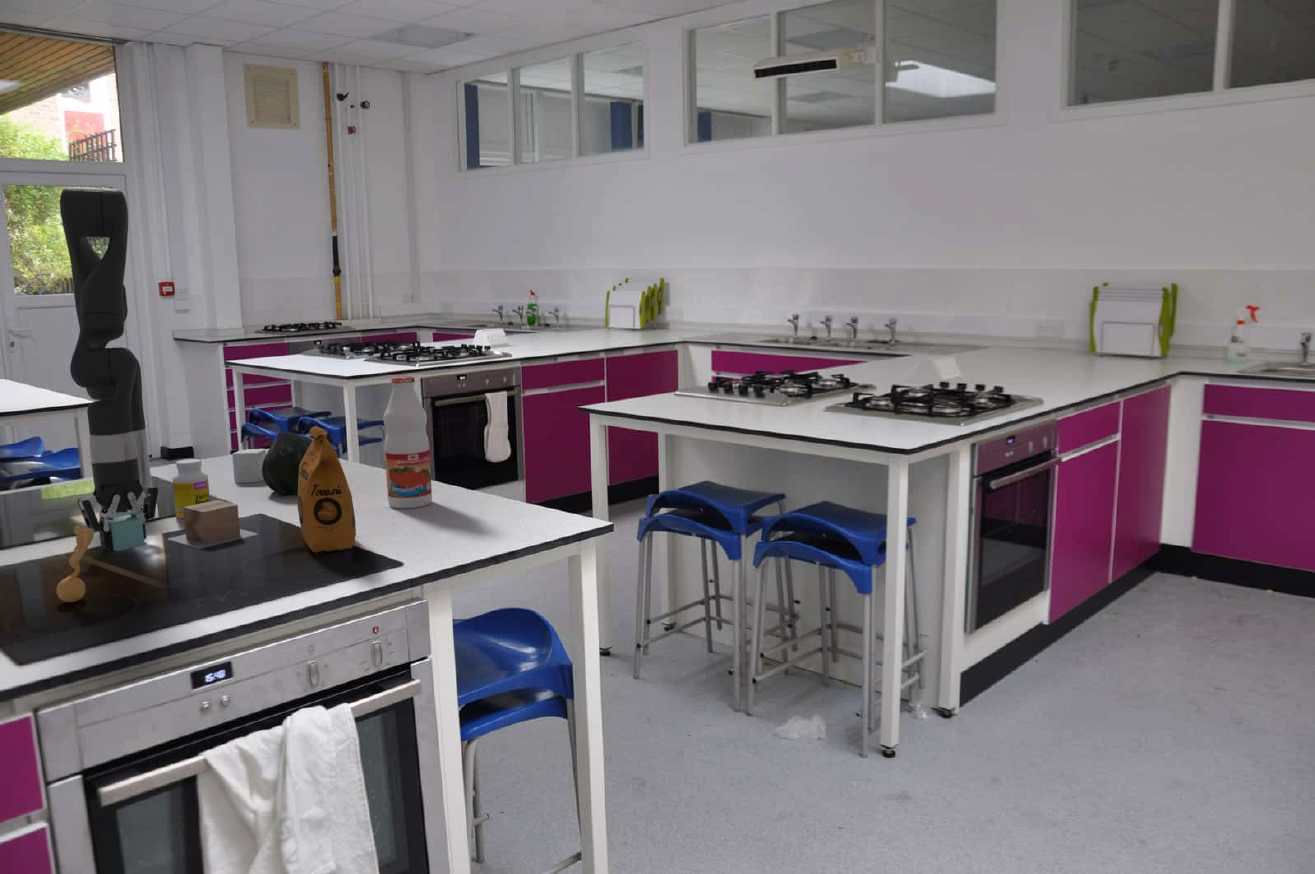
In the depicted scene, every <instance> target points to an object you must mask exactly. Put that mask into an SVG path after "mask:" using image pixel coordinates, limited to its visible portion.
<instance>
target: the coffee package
mask: <svg viewBox="0 0 1315 874" xmlns="http://www.w3.org/2000/svg"><path fill="white" fill-rule="evenodd" d="M309 436H310V437H313V439H312V440H313V441H312V443H311V445H310V446H309V448H308V450H307V451H306V453H305V455H304V457H303V459H302V461H301V463H300V465H299V476H298V494H297V512H298V519H299V526H300V531H301V535H302V538H303V539H304V542H305V543H306V545H307V546H308V548H309V549H310V550H311V551H312V552H313V553H314V552H316V551H322V550H339V549H344V548H348V547H352V546H354V547H355V541H356V536H357V532H356V531H357V529H356V518H355V517H356V516H355V509H354V503H353V502H354V501H353V496H352V495H353V494H352V493H351V492H352V491H351V490H350V486H349V484H348V481H347V480H348V479H347V478H346V475H345V472H344V469H343V467H342V465H341V462H340V458H339V457H338V456H339V455H338V453H337V451H336V450H335V447H333V445H332V444H331V442H330V441H329V440H328V439H327V437H328V431H327V430H326V429H323V428H321V427H319V426H317V425H315V426H312V427H311V428H310V429H309Z"/></svg>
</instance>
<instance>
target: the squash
mask: <svg viewBox="0 0 1315 874" xmlns="http://www.w3.org/2000/svg"><path fill="white" fill-rule="evenodd" d="M312 441H313V439H311V438H309V437H307V436H303V435H300V434H297V433H294V432H290V431H279V433H278V434H277V435H276V436H275V438H274V440H273V442H272V443H271V445H270V447H269V449H268V451H267V452H266V456H265V458H264V461H263V464H262V476H263V479H264V480H263V481H264V483H265V485H266V486H267V487H268V488H269V489H271V491H273V492H276V493H280V494H283V495H287V496H288V495H293V494H297V495H298V476H299V465H300V463H301V461H302V459H303V457H304V455H305V453H306V451H307V450H308V448H309V446H310V445H311V443H312Z"/></svg>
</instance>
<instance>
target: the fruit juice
mask: <svg viewBox="0 0 1315 874" xmlns="http://www.w3.org/2000/svg"><path fill="white" fill-rule="evenodd" d="M415 382H416V381H415V376H413V375H401V376H400V375H398V376H393V377H391V378H390V383H391V386H392V390H391V391H392V392H391V394H390V397H389V401H388V404H387V407H386V409H385V411H384V414H383V425H384V427H385V430H386V434H385V438H384V460H385V470H386V471H385V474H386V488H387V489H386V491H387V501H388V502H387V503H388V505H389V507H391V508H392V509H393V508H394V509H415V508H416V509H417V508H421V507H427V506H428V505H430V504H431V503H432V501H433V492H432V474H431V473H432V471H431V458H430V457H431V456H430V455H431V454H430V442H429V436H428V433H427V432H426V425H427V422H428V421H427V420H428V418H427V417H428V416H427V412H426V410H425V408H424V407H423V406H422V403H421V402H420V399H419V397H418V395H417V392H416V389H415V386H414V385H415Z"/></svg>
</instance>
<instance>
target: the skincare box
mask: <svg viewBox="0 0 1315 874" xmlns="http://www.w3.org/2000/svg"><path fill="white" fill-rule="evenodd" d="M266 451H267V450H266V448H251V449H250V448H245V449H244V448H242V449H241V450H237V451H236V452H234V453H231V454H232V455H231V456H232V465H233V468H232V469H233V477H234V478H233V479H234V480H233V481H234V483H236V484H237V483H240V484H241V483H242V484H243V483H260V482H261V481H264V479H263V476H262V464H263V461H264V458H265V456H266V454H267V452H266Z"/></svg>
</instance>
